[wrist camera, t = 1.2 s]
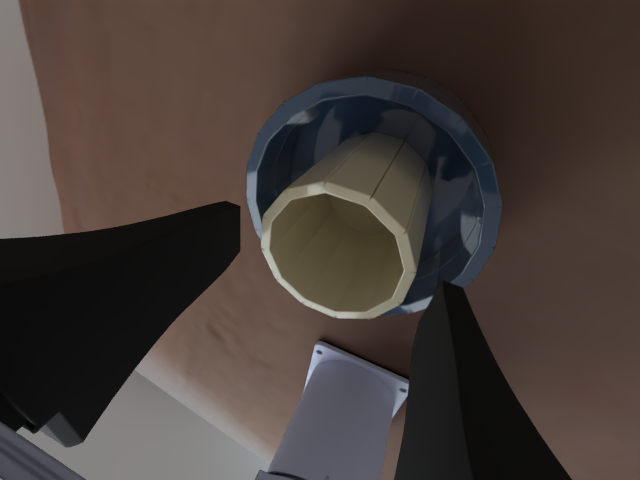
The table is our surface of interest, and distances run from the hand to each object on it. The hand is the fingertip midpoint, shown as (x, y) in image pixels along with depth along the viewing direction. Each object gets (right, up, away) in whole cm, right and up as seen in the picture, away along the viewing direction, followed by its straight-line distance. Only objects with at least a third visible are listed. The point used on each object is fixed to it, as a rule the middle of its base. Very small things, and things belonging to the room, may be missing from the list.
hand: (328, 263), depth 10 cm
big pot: (+3, +4, +6) cm, 7 cm away
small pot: (+3, +3, +5) cm, 7 cm away
